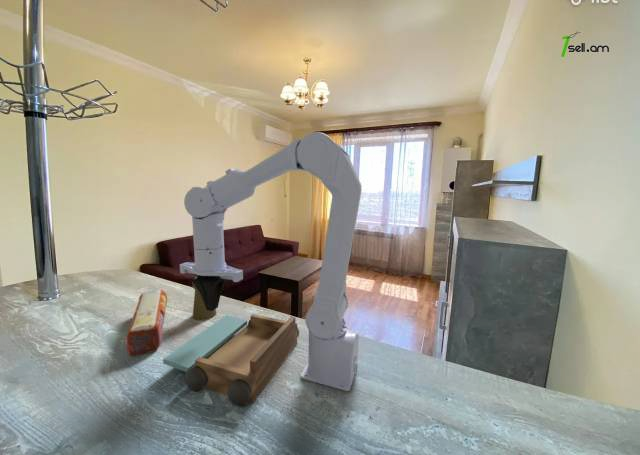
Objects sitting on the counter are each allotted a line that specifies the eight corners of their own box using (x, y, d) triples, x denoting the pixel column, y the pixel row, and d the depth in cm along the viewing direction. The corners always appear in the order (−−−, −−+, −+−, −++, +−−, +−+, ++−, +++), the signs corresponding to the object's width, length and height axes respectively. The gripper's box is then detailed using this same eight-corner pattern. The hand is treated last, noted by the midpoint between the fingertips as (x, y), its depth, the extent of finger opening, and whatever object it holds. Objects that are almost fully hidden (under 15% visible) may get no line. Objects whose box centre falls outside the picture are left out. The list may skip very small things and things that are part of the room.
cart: (299, 340, 62) (299, 312, 60) (248, 409, 43) (247, 370, 41) (251, 329, 66) (250, 303, 65) (185, 388, 47) (182, 352, 46)
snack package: (162, 351, 57) (160, 322, 56) (124, 360, 54) (121, 329, 53) (168, 309, 76) (166, 287, 74) (140, 314, 73) (138, 290, 72)
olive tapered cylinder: (207, 321, 69) (205, 281, 67) (187, 318, 70) (185, 279, 68) (220, 311, 75) (219, 273, 73) (201, 308, 76) (199, 271, 74)
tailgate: (247, 320, 64) (223, 314, 66) (188, 368, 47) (159, 357, 50) (247, 327, 65) (223, 320, 67) (188, 376, 48) (159, 366, 50)
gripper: (250, 245, 56) (252, 306, 58) (196, 239, 60) (199, 296, 63) (229, 253, 49) (231, 321, 51) (169, 246, 54) (174, 309, 56)
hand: (212, 308), depth 56 cm, fingers closed
